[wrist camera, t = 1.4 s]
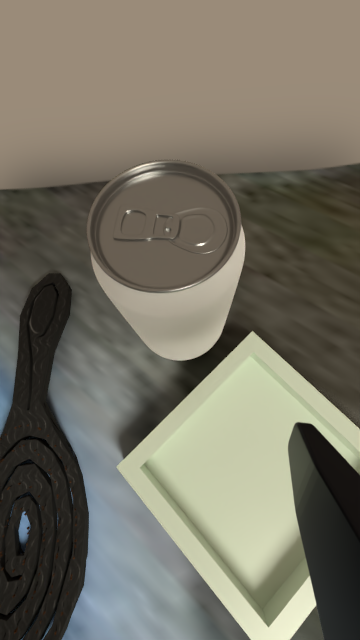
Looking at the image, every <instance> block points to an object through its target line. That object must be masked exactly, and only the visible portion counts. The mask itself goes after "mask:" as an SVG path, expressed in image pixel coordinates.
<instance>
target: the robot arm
mask: <svg viewBox="0 0 360 640" xmlns="http://www.w3.org/2000/svg"><path fill="white" fill-rule="evenodd" d="M288 456H289V464H290V473H291V481H292V489H293V497H294V505H295V512H296V517H297V522H298V526H299V531H300V535H301V539H302V544H303V548H304V553H305V557H306V561H307V566H308V570H309V574H310V579H311V583H312V588H313V592H314V596H315V601H316V605H317V609H318V614H319V618H320V622H321V627H322V631H323V636H324V640H360V475H359V473H358V472H357V471H356V470H355V469H354V468H353V467H352V466H351V465H350V464H349V463H348V462H347V461H346V459H345V458H344V457H343V456H342V455H341V454H340V453H339V452H338V451H337V450H336V449H335V448H334V447H333V445H332V444H331V443H330V442H329V441H328V440H327V439H326V438H325V437H324V436H323V435H322V434H321V433H320V431H319V430H318V429H317V428H316V427H315V426H314V425H312V424H310V423H302V422H296V423H295V424H294V427H293V430H292V433H291V436H290V439H289V442H288Z"/></svg>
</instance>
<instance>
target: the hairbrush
mask: <svg viewBox="0 0 360 640" xmlns="http://www.w3.org/2000/svg"><path fill="white" fill-rule="evenodd" d="M54 286H56V288H57V289H56V288H54ZM69 287H70V286H68V283H67V281H66V280H65V279H64V278H63V276H62V275H61V274H48V275H47V276H46V277H45V278H44V279H43V280H41V281H40V282H39V283H38V284H37V285H36V286H35V287H34V288H32V290H31V292H30V294H29V297H28V299H27V301H26V304H25V306H24V308H23V311H22V313H21V315H20V330H19V349H18V359H17V368H16V377H15V386H14V395H13V404H12V407H11V410H10V413H9V416H8V419H7V422H6V425H5V427H4V430H3V433H2V435H1V437H0V640H20V639H21V638H22V637H23V636H24V635H25V634H26V632H27V630H28V629H29V627H30V626H31V624H32V622H33V621H34V619H35V617H36V616H37V614H38V612H39V611H40V612H39V615H38V618H37V620H36V621H35V623H34V624H33V626H32V627H31V629H30V630H29V631H28V633H27V634H26V636H25V637H24V638H23V640H42V639H43V637H44V635H45V632H46V630H47V628H48V626H49V624H50V622H51V620H52V618H53V616H54V614H55V612H56V614H55V617H54V621H53V624H52V627H51V628H50V630H49V631H48V633H47V634H46V636H45V638H44V639H43V640H61V639H62V637H63V635H64V633H65V631H66V629H67V627H68V624H69V621H70V618H71V615H72V613H73V610H74V608H75V605H76V603H77V601H78V598H79V596H80V593H81V591H82V588H83V586H84V578H85V568H86V559H87V553H88V529H89V512H88V506H87V499H86V493H85V487H84V481H83V475H82V472H81V470H80V468H79V464H77V463H78V460H77V457H76V455H75V453H74V455H75V457H76V460H77V462H76V460H75V458H74V456H73V454H72V452H71V450H70V448H71V446H70V445H69V443H68V441H67V440H66V438H65V436H64V435H63V433H62V431H61V430H60V428H59V426H58V424H57V422H56V420H55V418H54V416H53V414H52V412H51V410H50V408H49V406H48V404H47V402H46V398H47V392H48V386H49V381H50V375H51V369H52V364H53V358H54V353H55V350H56V348H57V345H58V343H59V340H60V338H61V335H62V333H63V330H64V328H65V325H66V322H67V320H68V317H69V315H70V305H71V292H70V290H69ZM70 289H71V288H70ZM58 292H59V294H58ZM32 436H34V437H38V438H31V439H28V438H30V437H32ZM41 438H42V439H41ZM26 439H27V440H26ZM43 439H45V440H46V441H47V442H48V443H47V442H46V441H44V440H43ZM49 445H50V446H51V447H52V448H51V447H50V446H49ZM69 447H70V448H69ZM71 449H72V448H71ZM72 451H73V450H72ZM73 452H74V451H73ZM58 456H59V457H58ZM59 458H60V459H61V460H62V462H63V463H62V462H61V460H60V459H59ZM28 459H31V460H32V461H33V462H35V463H36V464H33V463H26V464H23V465H20V466H18V465H19V464H21V463H23V462H24V461H26V460H28ZM15 469H16V470H15ZM14 471H15V472H14ZM45 471H46V472H47V473H48V474H49V475H50V477H49V475H48V474H47V473H46V472H45ZM13 472H14V473H13ZM12 473H13V475H12ZM11 475H12V476H11ZM10 476H11V478H10V480H9V481H8V478H9V477H10ZM50 478H51V479H50ZM7 481H8V483H7ZM6 483H7V485H6ZM70 488H71V490H70ZM27 492H30V493H31V494H32V496H33V497H34V498H35V499H34V498H33V497H32V496H30V495H26V496H24V497H22V498H20V499H18V498H19V497H20V496H21V495H22V494H25V493H27ZM71 492H72V495H73V503H72V497H71ZM17 499H18V500H17ZM14 502H15V503H14ZM13 504H14V507H13ZM39 505H40V506H39ZM12 507H13V511H12ZM40 510H41V511H40ZM11 511H12V514H11ZM24 511H25V512H26V513H25V514H24V515H26V514H27V517H28V520H29V522H30V525H31V530H29V532H30V534H29V532H28V533H27V535H28V534H29V538H28V541H27V543H26V549H25V552H23V551H22V549H21V551H22V553H20V548H21V546H19V544H20V543H19V535H18V529H19V525H20V520H21V516H22V513H23V512H24ZM57 513H58V518H59V519H58V528H57ZM10 515H11V517H10ZM9 519H10V521H9ZM8 523H9V525H8ZM27 529H29V527H28V528H27ZM72 548H73V553H72ZM69 560H70V561H69ZM21 574H22V575H21ZM27 594H28V596H27V598H26V600H25V601H24V602H23V603H22V604H21V605H20V607H19V608H18V609H17V610H16V611H14V612H13V613H10V612H11V611H12V610H13V609H15V608H16V607H17V606H18V604H19V603H20V602H21V601H22V600H23V599H24V598H25V597H26V595H27ZM40 609H41V610H40Z"/></svg>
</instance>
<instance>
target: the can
mask: <svg viewBox="0 0 360 640" xmlns="http://www.w3.org/2000/svg"><path fill="white" fill-rule="evenodd" d="M87 240H88V245H89V248H90V251H91V261H92V266H93V270H94V273H95V275H96V278H97V280H98V282H99V284H100V286H101V287H102V289H103V290H104V292H105V293H106V295H107V296H108V297H109V299H110V300H111V301H112V303H113V304H114V305H115V306H116V308H117V309H118V310H119V312H120V313H121V314H122V315H123V317H124V318H125V319H126V320H127V322H128V323H129V324H130V325H131V327H132V328H133V329H134V330H135V332H136V333H137V334H138V335H139V337H140V338H141V339H142V340H143V342H144V343H145V344H146V345H147V346H148V347H149V348H150V349H151V350H152V351H153V352H155V353H156V354H158V355H160V356H162V357H164V358H167V359H171V360H178V361H182V360H190V359H193V358H196V357H199V356H201V355H203V354H204V353H206V352H207V351H208V350H209V349H211V348H212V347H213V345H214V344H215V343H216V342H217V340H218V339H219V337H220V335H221V333H222V330H223V328H224V325H225V322H226V319H227V316H228V312H229V309H230V306H231V303H232V300H233V297H234V294H235V290H236V287H237V284H238V281H239V277H240V274H241V270H242V266H243V262H244V256H245V237H244V232H243V228H242V225H241V214H240V209H239V205H238V203H237V200H236V198H235V196H234V194H233V192H232V191H231V189H230V188H229V187H228V185H227V184H226V183H225V182H224V181H223V180H222V179H221V178H220V177H218V176H217V175H216V174H214V173H213V172H211V171H210V170H208V169H206V168H204V167H202V166H199V165H197V164H193V163H190V162H186V161H180V160H156V161H150V162H146V163H142V164H139V165H136V166H134V167H132V168H129V169H127V170H125V171H124V172H122V173H120V174H119V175H118V176H116V177H115V178H113V179H112V180H111V181H110V182H109V183H108V184H107V185H106V186H105V187H104V188H103V189H102V190H101V191H100V193H99V194H98V196H97V197H96V199H95V200H94V202H93V204H92V207H91V209H90V212H89V215H88V220H87Z"/></svg>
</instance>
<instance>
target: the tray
mask: <svg viewBox="0 0 360 640" xmlns="http://www.w3.org/2000/svg"><path fill="white" fill-rule="evenodd" d="M296 422H302V423H310V424H312V425H314V426H315V427H316V428H317V429H318V430H319V431H320V433H321V434H322V435H323V436H324V437H325V438H326V439H327V440H328V441H329V442H330V443H331V444H332V445H333V447H334V448H335V449H336V450H337V451H338V452H339V453H340V454H341V455H342V456H343V457H344V458H345V459H346V461H347V462H348V463H349V464H350V465H351V466H352V467H353V468H354V469H355V470H356V471H357V472H358V473H359V475H360V429H359V428H358V427H357V426H356V425H355V424H354V423H352V422H351V421H350V420H349V419H348V418H347V417H346V416H345V415H344V414H343V413H342V412H340V411H339V410H338V409H337V408H336V407H335V406H334V405H333V404H332V403H331V402H330V401H328V400H327V399H326V398H325V397H324V396H323V395H322V394H321V393H320V392H319V391H317V390H316V389H315V388H314V387H313V386H312V385H311V384H310V383H309V382H308V381H307V380H305V379H304V378H303V377H302V376H301V375H300V374H299V373H298V372H297V371H296V370H294V369H293V368H292V367H291V366H290V365H289V364H288V363H287V362H286V361H285V360H284V359H282V358H281V357H280V356H279V355H278V354H277V353H276V352H275V351H274V350H273V349H272V348H270V347H269V346H268V345H267V344H266V343H265V342H264V341H263V340H262V339H261V338H259V337H258V336H257V335H256V334H255V333H254V332H253V331H252V332H251V333H250V334H249V335H248V336H247V337H246V338H245V339H244V340H243V341H242V342H241V343H240V344H239V345H238V346H237V347H236V348H235V349H234V350H233V351H232V352H231V353H230V354H229V355H228V356H227V357H226V358H225V359H224V360H223V361H222V362H221V363H220V364H219V365H218V366H217V367H216V368H215V369H214V370H213V371H212V372H211V373H210V374H209V375H208V376H207V377H206V378H205V379H204V380H203V381H202V382H201V383H200V384H199V385H198V386H197V387H196V388H195V389H194V390H193V391H192V392H191V393H190V394H189V395H188V396H187V397H186V398H185V399H184V400H183V401H182V402H181V403H180V404H179V405H178V406H177V407H176V408H175V409H174V410H173V411H172V412H171V413H170V414H169V415H168V416H167V417H166V418H165V419H164V420H163V421H162V422H161V423H160V424H159V425H158V426H157V427H156V428H155V429H154V430H153V431H152V432H151V433H150V434H149V435H148V436H147V437H146V438H145V439H144V440H143V441H142V442H141V443H140V444H139V445H138V446H137V447H136V448H135V449H134V450H133V451H132V452H131V453H130V454H129V455H128V456H127V457H126V458H125V459H124V460H123V461H122V462H121V463H120V464H119V465H118V466H117V469H118V470H119V471H120V473H121V474H122V475H123V476H124V478H125V479H126V480H127V481H128V483H129V484H130V485H131V487H132V488H133V489H134V490H135V492H136V493H137V494H138V496H139V497H140V498H141V499H142V501H143V502H144V503H145V505H146V506H147V507H148V508H149V510H150V511H151V512H152V513H153V515H154V516H155V517H156V519H157V520H158V521H159V522H160V524H161V525H162V526H163V528H164V529H165V530H166V531H167V533H168V534H169V535H170V537H171V538H172V539H173V540H174V542H175V543H176V544H177V545H178V547H179V548H180V549H181V551H182V552H183V553H184V554H185V556H186V557H187V558H188V560H189V561H190V562H191V563H192V565H193V566H194V567H195V568H196V570H197V571H198V572H199V574H200V575H201V576H202V577H203V579H204V580H205V581H206V583H207V584H208V585H209V586H210V588H211V589H212V590H213V592H214V593H215V594H216V595H217V597H218V598H219V599H220V600H221V602H222V603H223V604H224V606H225V607H226V608H227V609H228V611H229V612H230V613H231V615H232V616H233V617H234V618H235V620H236V621H237V622H238V624H239V625H240V626H241V627H242V629H243V630H244V631H245V632H246V634H247V635H248V636H249V638H250V639H251V640H290V638H291V637H292V636H293V635H294V633H295V632H296V631H297V629H298V628H299V627H300V625H301V624H302V623H303V622H304V620H305V619H306V618H307V616H308V615H309V614H310V612H311V611H312V610H313V609H314V607H315V606H316V601H315V596H314V592H313V588H312V583H311V579H310V574H309V570H308V566H307V561H306V557H305V553H304V548H303V544H302V539H301V535H300V531H299V526H298V522H297V517H296V512H295V505H294V497H293V489H292V481H291V473H290V464H289V456H288V442H289V439H290V436H291V433H292V430H293V427H294V424H295V423H296Z"/></svg>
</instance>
